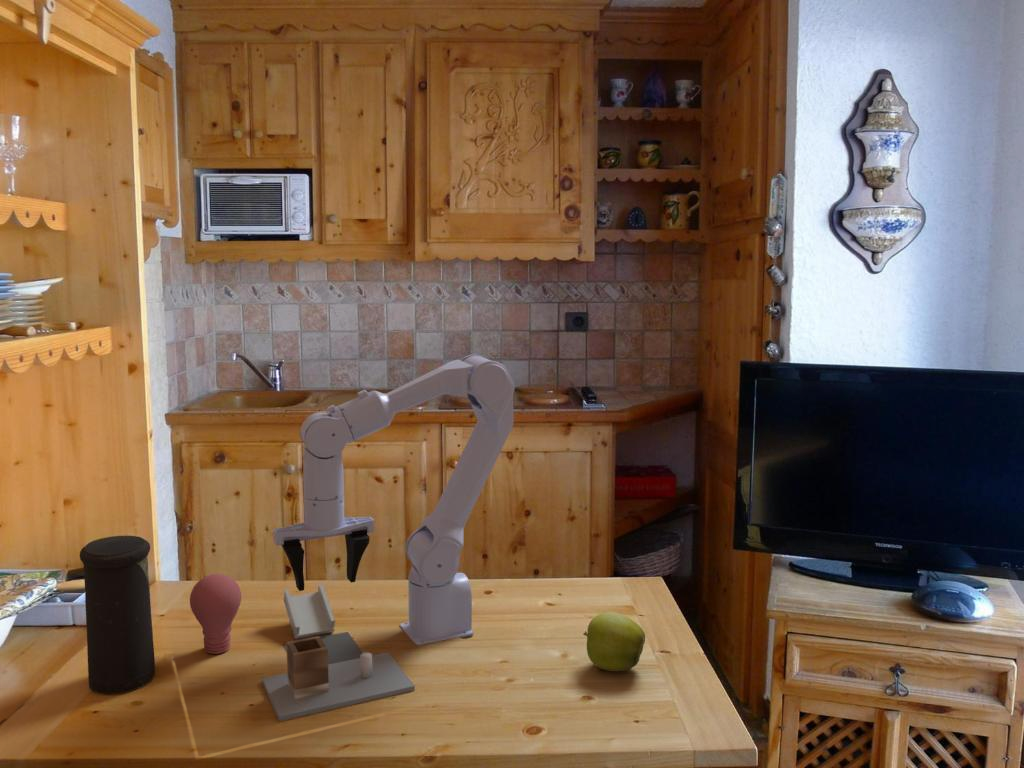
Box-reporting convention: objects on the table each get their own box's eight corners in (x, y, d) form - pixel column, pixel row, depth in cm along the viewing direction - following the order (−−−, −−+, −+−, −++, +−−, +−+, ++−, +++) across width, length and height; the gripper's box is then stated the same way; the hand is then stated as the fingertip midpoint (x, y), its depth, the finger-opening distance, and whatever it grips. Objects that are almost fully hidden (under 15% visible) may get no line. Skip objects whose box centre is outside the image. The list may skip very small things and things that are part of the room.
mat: (347, 634, 134) (347, 631, 134) (367, 661, 126) (367, 658, 125) (282, 646, 130) (282, 644, 130) (298, 675, 121) (298, 673, 121)
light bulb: (227, 666, 124) (224, 586, 122) (182, 661, 125) (178, 582, 123) (252, 644, 130) (249, 568, 129) (209, 640, 132) (205, 564, 130)
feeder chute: (321, 613, 141) (320, 581, 140) (335, 633, 133) (334, 599, 132) (284, 620, 138) (283, 587, 137) (296, 641, 131) (295, 606, 130)
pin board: (388, 658, 126) (387, 632, 126) (414, 692, 117) (414, 664, 116) (262, 684, 118) (261, 657, 118) (279, 723, 109) (278, 694, 108)
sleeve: (320, 676, 119) (319, 635, 118) (328, 691, 115) (327, 648, 114) (287, 683, 117) (286, 641, 116) (295, 698, 113) (294, 655, 112)
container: (171, 671, 122) (164, 534, 119) (123, 701, 114) (114, 555, 111) (122, 661, 125) (114, 527, 122) (72, 690, 116) (62, 547, 113)
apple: (587, 651, 130) (589, 600, 128) (648, 661, 127) (650, 609, 125) (574, 675, 122) (575, 621, 121) (637, 686, 119) (639, 631, 118)
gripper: (364, 483, 133) (365, 567, 135) (267, 494, 127) (270, 582, 129) (378, 494, 127) (379, 583, 129) (278, 506, 120) (281, 599, 123)
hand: (326, 584), depth 128 cm, fingers open, 7 cm apart
